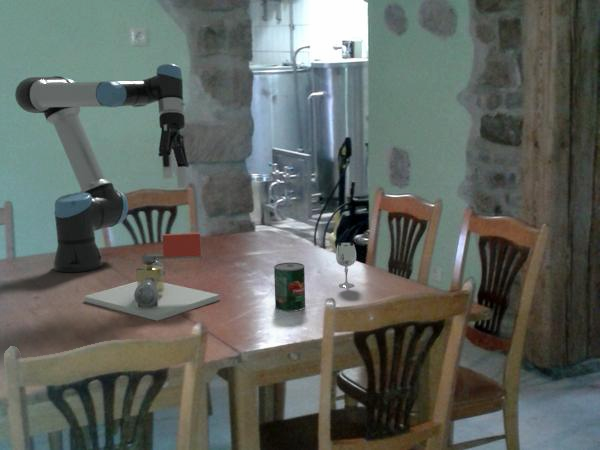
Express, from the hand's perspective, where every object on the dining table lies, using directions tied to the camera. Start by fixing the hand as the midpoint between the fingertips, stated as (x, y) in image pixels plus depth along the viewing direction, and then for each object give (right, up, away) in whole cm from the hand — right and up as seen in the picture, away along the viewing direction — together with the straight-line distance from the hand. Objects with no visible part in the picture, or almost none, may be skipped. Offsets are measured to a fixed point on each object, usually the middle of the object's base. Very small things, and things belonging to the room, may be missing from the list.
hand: (175, 183), depth 235 cm
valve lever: (+3, -22, -23) cm, 32 cm away
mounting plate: (-3, -33, -21) cm, 39 cm away
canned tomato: (+35, -34, -30) cm, 57 cm away
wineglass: (+51, -30, -11) cm, 60 cm away
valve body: (-3, -32, -21) cm, 38 cm away
